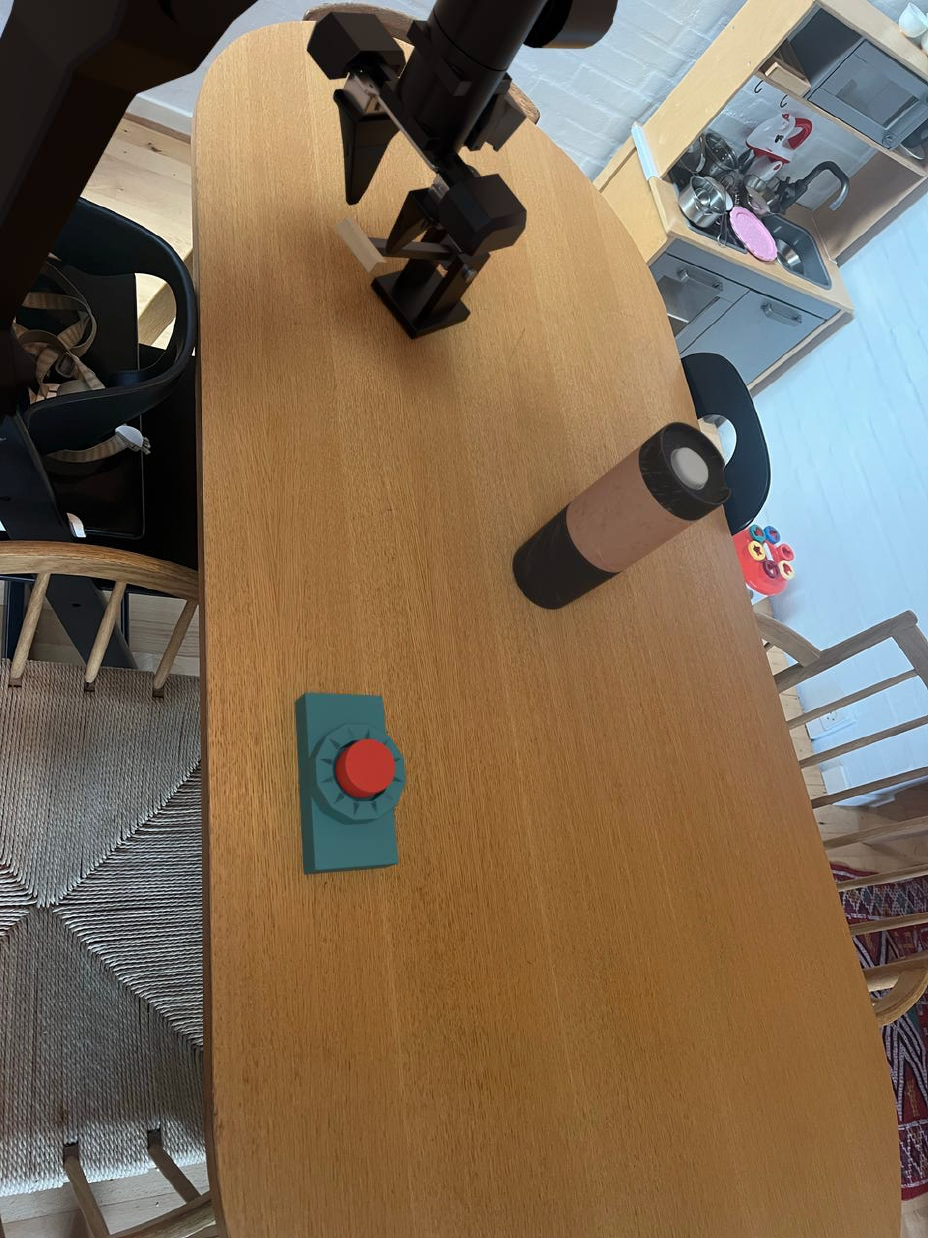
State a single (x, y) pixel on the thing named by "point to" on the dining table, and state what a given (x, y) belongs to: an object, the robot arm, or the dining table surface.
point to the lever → (374, 251)
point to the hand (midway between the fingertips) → (370, 227)
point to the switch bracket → (429, 290)
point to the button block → (329, 815)
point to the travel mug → (623, 516)
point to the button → (365, 768)
